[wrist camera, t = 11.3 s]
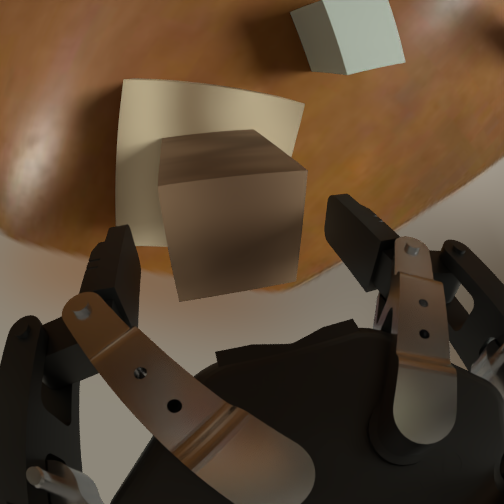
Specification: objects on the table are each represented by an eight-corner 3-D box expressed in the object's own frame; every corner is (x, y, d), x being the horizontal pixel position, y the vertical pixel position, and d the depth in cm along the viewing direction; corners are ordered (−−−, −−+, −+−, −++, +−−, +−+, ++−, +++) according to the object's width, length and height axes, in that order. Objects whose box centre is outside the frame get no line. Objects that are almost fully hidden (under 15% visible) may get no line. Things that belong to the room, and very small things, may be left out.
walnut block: (253, 129, 15) (307, 170, 10) (253, 208, 18) (295, 281, 13) (161, 138, 14) (157, 186, 9) (172, 219, 17) (179, 301, 11)
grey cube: (345, 3, 15) (386, -5, 11) (363, 58, 18) (405, 62, 14) (289, 12, 15) (322, -1, 11) (311, 71, 18) (347, 75, 14)
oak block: (276, 95, 19) (305, 103, 15) (248, 215, 24) (266, 249, 20) (135, 78, 16) (123, 79, 12) (125, 209, 21) (116, 245, 17)
